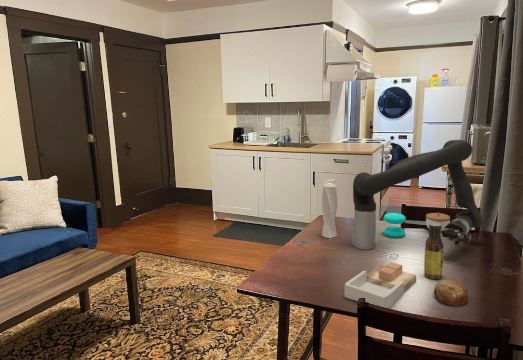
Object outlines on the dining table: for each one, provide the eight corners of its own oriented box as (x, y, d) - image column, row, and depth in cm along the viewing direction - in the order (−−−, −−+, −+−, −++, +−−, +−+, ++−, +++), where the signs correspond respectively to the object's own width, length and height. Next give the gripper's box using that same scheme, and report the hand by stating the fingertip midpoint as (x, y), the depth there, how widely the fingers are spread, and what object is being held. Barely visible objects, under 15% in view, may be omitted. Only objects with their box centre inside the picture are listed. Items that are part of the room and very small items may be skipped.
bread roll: (432, 301, 132) (423, 282, 130) (459, 288, 132) (450, 268, 130) (448, 317, 122) (439, 297, 121) (477, 302, 122) (468, 282, 120)
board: (364, 282, 140) (364, 275, 139) (379, 271, 148) (379, 265, 148) (402, 294, 130) (402, 287, 130) (416, 281, 139) (416, 275, 138)
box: (343, 296, 130) (343, 284, 129) (363, 282, 140) (363, 270, 139) (384, 311, 120) (385, 298, 119) (403, 294, 130) (403, 282, 129)
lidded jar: (449, 228, 193) (450, 210, 191) (449, 235, 184) (450, 216, 182) (425, 226, 198) (426, 209, 196) (424, 233, 188) (425, 214, 186)
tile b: (378, 278, 137) (378, 270, 136) (384, 273, 140) (384, 266, 140) (390, 281, 134) (391, 273, 133) (396, 277, 137) (396, 269, 137)
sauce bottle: (444, 280, 139) (447, 227, 135) (425, 279, 140) (428, 227, 136) (439, 272, 145) (442, 222, 141) (422, 272, 146) (424, 221, 143)
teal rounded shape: (381, 212, 190) (401, 212, 190) (380, 232, 192) (400, 231, 192) (387, 218, 180) (409, 218, 180) (386, 238, 182) (408, 238, 182)
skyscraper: (328, 233, 193) (328, 178, 187) (340, 236, 187) (341, 180, 182) (318, 237, 188) (318, 180, 182) (330, 240, 182) (331, 182, 177)
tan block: (384, 273, 140) (385, 265, 140) (390, 269, 144) (390, 261, 143) (396, 276, 137) (397, 269, 137) (402, 272, 141) (402, 264, 140)
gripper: (439, 217, 164) (425, 227, 152) (477, 223, 154) (464, 234, 142) (438, 234, 165) (424, 245, 153) (475, 241, 155) (463, 253, 144)
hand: (443, 240), depth 148 cm, fingers open, 8 cm apart
